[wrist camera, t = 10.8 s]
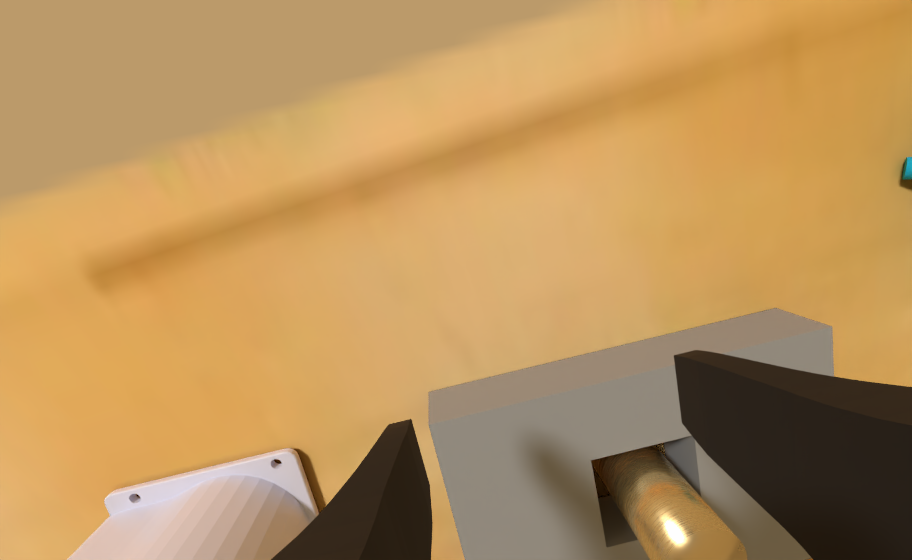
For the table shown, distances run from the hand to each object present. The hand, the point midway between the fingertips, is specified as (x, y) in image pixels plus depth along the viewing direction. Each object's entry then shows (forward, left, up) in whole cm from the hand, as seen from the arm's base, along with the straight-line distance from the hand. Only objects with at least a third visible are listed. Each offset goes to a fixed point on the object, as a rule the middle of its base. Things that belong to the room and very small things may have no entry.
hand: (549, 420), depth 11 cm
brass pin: (+5, -9, -9) cm, 14 cm away
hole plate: (+5, -9, -9) cm, 14 cm away
